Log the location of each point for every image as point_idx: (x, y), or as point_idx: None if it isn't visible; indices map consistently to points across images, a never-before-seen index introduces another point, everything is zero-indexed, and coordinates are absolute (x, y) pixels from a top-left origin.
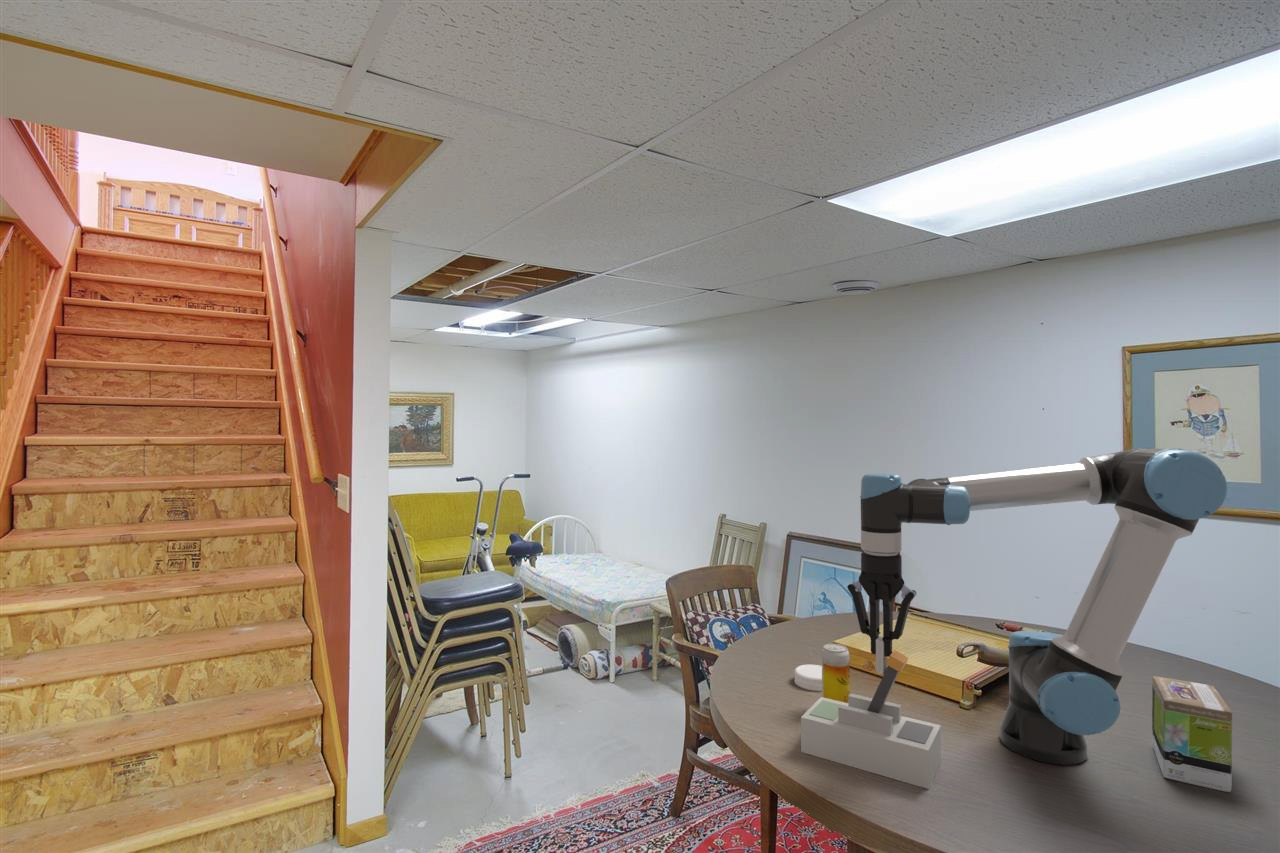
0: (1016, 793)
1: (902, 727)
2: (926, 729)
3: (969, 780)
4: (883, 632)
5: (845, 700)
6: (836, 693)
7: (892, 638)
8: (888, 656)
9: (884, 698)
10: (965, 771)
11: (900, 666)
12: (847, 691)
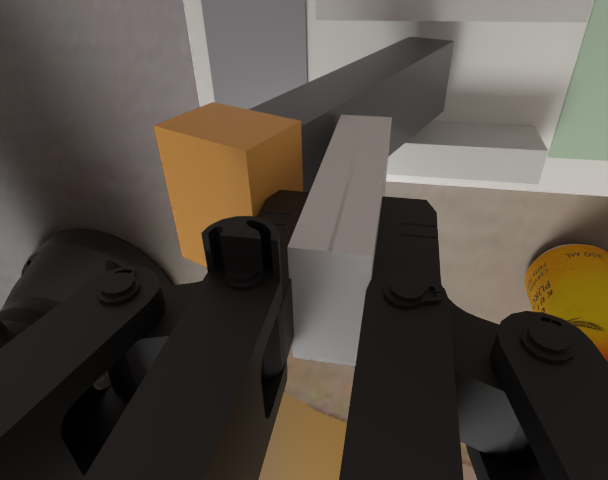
0: (61, 54)
1: (304, 72)
2: (231, 105)
3: (160, 56)
4: (261, 325)
5: (546, 286)
6: (586, 289)
7: (191, 291)
8: (285, 192)
9: (351, 63)
10: (183, 102)
11: (192, 117)
12: (545, 312)
